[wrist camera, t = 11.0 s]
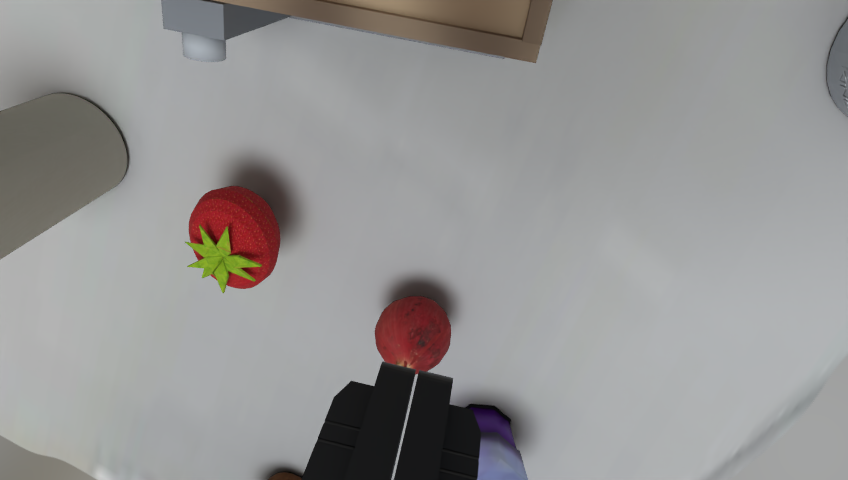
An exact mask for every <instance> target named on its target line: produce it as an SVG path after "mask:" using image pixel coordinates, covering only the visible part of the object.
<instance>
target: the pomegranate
mask: <svg viewBox="0 0 848 480" xmlns="http://www.w3.org/2000/svg"><path fill="white" fill-rule="evenodd" d="M450 338H451V325H450V322H449V320H448V317H447V314H446V313H445V311H444V310H443V309H442V308H441V307H440V306H439V305H438V304H437V303H436V302H435V301H434V300H431V299H428V298H425V297H422V296H409V297H406V298H403V299H400V300H396V301H394V302H393V303H391V304H390V305H389V306H388V307H387V308H385V309H384V311H383V312H382V314H381V316H380V318H379V320H378V322H377V325H376V328H375V339H376V346H377V349H378V351H379V353H380V354H381V356H382V358H383V359H384V361H385V362H387V363H391V364H395V365H399V366H403V367H408V368H412V369H416V372H415V374H418V373H419V370H421V371H425V372H427V371H428V370H430V369H432V368H433V367H435V366H436V365H437V364H439V363H440V361H441V360H442V358H443V357H444V355H445V354H446V352H447V351H448V348H449V346H450Z"/></svg>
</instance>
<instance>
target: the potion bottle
mask: <svg viewBox="0 0 848 480" xmlns="http://www.w3.org/2000/svg"><path fill="white" fill-rule="evenodd" d="M465 408H467V409H471V410H473V412H474V415H475V417H476V420H477V423H478V425H479V428H480V431H481V442H480V455H479V468H478V478H477V480H528V478H527V475H526V471H525V468H524V464H523V461H522V457H521V454H520V451H518V450H517V449H516V446H515V442H514V439H513V435H512V432H511V428H510V421H511V419H509V418H508V417H507V416H506V415H505V414H503V413H502V412H501V411H500V410H499V409H497V408H496V407H495V406H488V405H476V404H470V405H468V406H467V407H465Z"/></svg>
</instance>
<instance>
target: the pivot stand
mask: <svg viewBox="0 0 848 480" xmlns="http://www.w3.org/2000/svg"><path fill="white" fill-rule="evenodd" d="M161 1H162V14H163V27H164V29H168V30H173V31H178V32H182V42H183V55H184V57H186V58H189V59H192V60H197V61H205V62H217V61H223V60H225V59H226V40H227V39H230V38H232V37H235V36H238V35H241V34H243V33H246V32H249V31H252V30H254V29H257V28H260V27H263V26H266V25H268V24H271V23H274V22H277V21H279V20H282V19H285V18H288V17H290V18H295V19H300V20H305V21H310V22H316V23H321V24H326V25H331V26H336V27H342V28H347V29H352V30H357V31H362V32H368V33H373V34H378V35H383V36H388V37H393V38H399V39H404V40H409V41H414V42H419V43H425V44H430V45H435V46H440V47H445V48H450V49H456V50H461V51H466V52H471V53H476V54H482V55H487V56H492V57H497V58H502V59H504V58H505V57H502V56H497V55H492V54H486V53H481V52H476V51H471V50H466V49H461V48H456V47H450V46H445V45H440V44H435V43H430V42H425V41H419V40H414V39H409V38H404V37H399V36H394V35H389V34H383V33H378V32H373V31H368V30H363V29H358V28H353V27H347V26H342V25H337V24H332V23H327V22H322V21H317V20H311V19H306V18H301V17H296V16H291V15H286V14H281V13H275V12H270V11H265V10H260V9H255V8H250V7H245V6H239V5H234V4H229V3H224V2H219V1H214V0H161Z"/></svg>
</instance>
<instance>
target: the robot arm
mask: <svg viewBox="0 0 848 480" xmlns="http://www.w3.org/2000/svg"><path fill="white" fill-rule="evenodd" d="M827 83H828V87H829V91H830V95H831V97H832V98H833V100H834V102H835V104H836V105H837V107H838V108H839V109H840V110H841V111H842V112H843V113H844V114H845V115H846V116H848V19H847V21H846V22H845V24H844V25H843V27H842V28H841V29H840V31H839V33H838V35H837V37H836V39H835V42H834V44H833V46H832V48H831V52H830V56H829V60H828V64H827ZM415 372H416V369H412V368H408V367H403V366H399V365H395V364H391V363H387V362H382V364H381V367H380V370H379V373H378V376H377V379H376V383H375V386H371V385H366V384H362V383H358V382H354V381H351V382H350V383H349V384H348V385H347V386H346V387H344V388H343V389H342V390H341V391H340V392H339V393H338V394H337V395H336V396H335V397H334V399H333V401H332V404H331V406H330V409H329V411H328V414H327V416H326V419H325V423H324V424H323V426H322V429H321V432H320V434H319V437H318V440H317V442H316V444H315V447H314V449H313V452H312V454H311V457H310V459H309V462H308V464H307V467H306V469H305V472H304V474H303V477H302V479H301V480H391V478H392V474H393V469H394V465H395V461H396V457H397V452H398V448H399V444H400V440H401V435H402V431H403V426H404V422H405V418H406V413H407V409H408V404H409V400H410V395H411V391H412V386H413V382H414V377H415ZM452 383H453V378H450V377H446V376H442V375H438V374H434V373H429V372H425V371H421V370H419V373H418V378H417V382H416V386H415V391H414V395H413V399H412V404H411V408H410V412H409V417H408V421H407V425H406V430H405V434H404V439H403V443H402V447H401V452H400V456H399V460H398V465H397V469H396V473H395V478H394V480H477V478H478V468H479V455H480V442H481V431H480V428H479V425H478V423H477V420H476V417H475V415H474V412H473V410H471V409H467V408H463V407H458V406H454V405H450V404H449V403H450V396H451V389H452Z"/></svg>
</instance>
